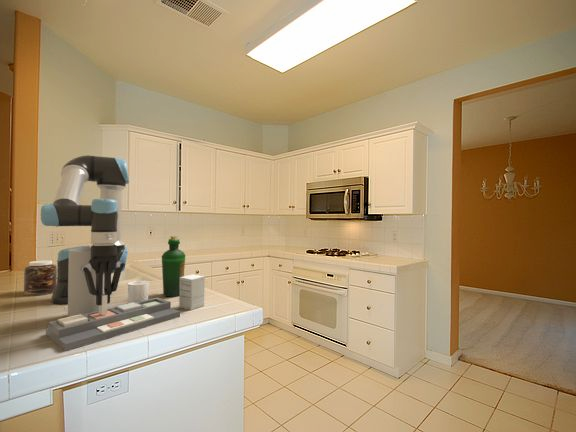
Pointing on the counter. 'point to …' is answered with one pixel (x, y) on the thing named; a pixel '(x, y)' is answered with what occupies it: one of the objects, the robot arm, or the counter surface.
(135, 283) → the white cup
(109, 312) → the key terracotta
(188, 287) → the supplement box
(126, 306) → the key grey
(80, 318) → the key white
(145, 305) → the key sage
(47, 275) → the jar
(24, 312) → the counter surface
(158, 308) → the key pad
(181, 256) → the bottle
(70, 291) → the cylinder vase
